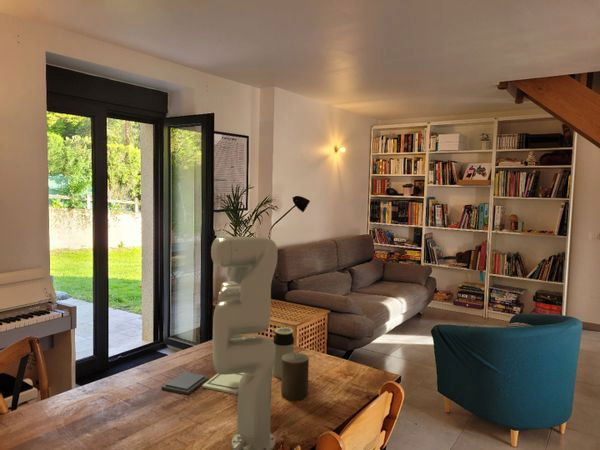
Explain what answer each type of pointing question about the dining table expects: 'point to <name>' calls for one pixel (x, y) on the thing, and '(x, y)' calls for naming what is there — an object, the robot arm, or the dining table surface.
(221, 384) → the board
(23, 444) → the dining table surface
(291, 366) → the pillar candle
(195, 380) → the grey flat block
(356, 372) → the dining table surface
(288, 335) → the travel mug
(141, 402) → the dining table surface
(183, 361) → the dining table surface
